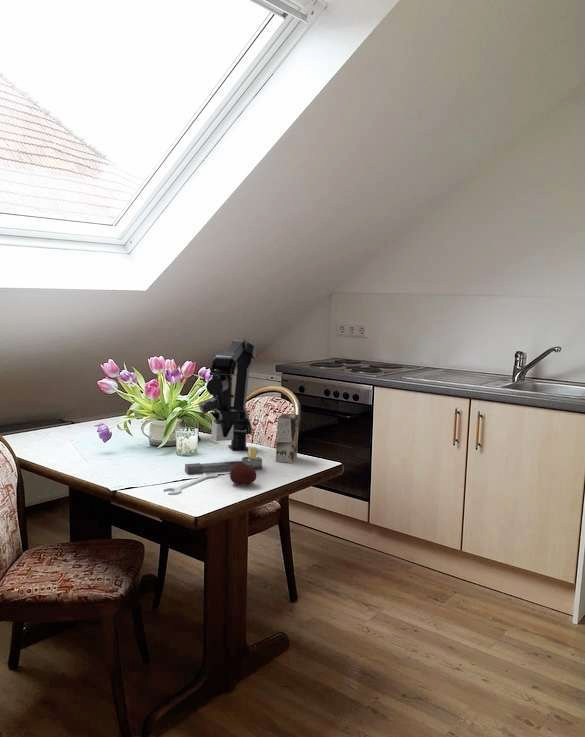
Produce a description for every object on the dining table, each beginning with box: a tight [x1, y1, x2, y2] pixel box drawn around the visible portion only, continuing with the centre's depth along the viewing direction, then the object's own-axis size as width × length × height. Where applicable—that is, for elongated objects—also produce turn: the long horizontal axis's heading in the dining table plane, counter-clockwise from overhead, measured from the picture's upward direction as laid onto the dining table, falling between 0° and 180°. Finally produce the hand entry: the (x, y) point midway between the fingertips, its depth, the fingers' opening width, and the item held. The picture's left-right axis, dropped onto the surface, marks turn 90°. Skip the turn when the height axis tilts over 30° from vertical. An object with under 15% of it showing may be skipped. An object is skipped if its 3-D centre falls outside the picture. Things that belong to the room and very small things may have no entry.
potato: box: [229, 463, 257, 486], centre depth 206 cm, size 7×8×7 cm
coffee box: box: [275, 413, 300, 464], centre depth 237 cm, size 9×6×16 cm
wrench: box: [163, 472, 219, 496], centre depth 205 cm, size 25×2×5 cm
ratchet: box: [184, 446, 263, 475], centre depth 221 cm, size 7×26×7 cm, turn 113°
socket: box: [211, 419, 234, 442], centre depth 228 cm, size 6×6×6 cm
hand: (222, 435), depth 229 cm, fingers closed on socket, 6 cm apart
